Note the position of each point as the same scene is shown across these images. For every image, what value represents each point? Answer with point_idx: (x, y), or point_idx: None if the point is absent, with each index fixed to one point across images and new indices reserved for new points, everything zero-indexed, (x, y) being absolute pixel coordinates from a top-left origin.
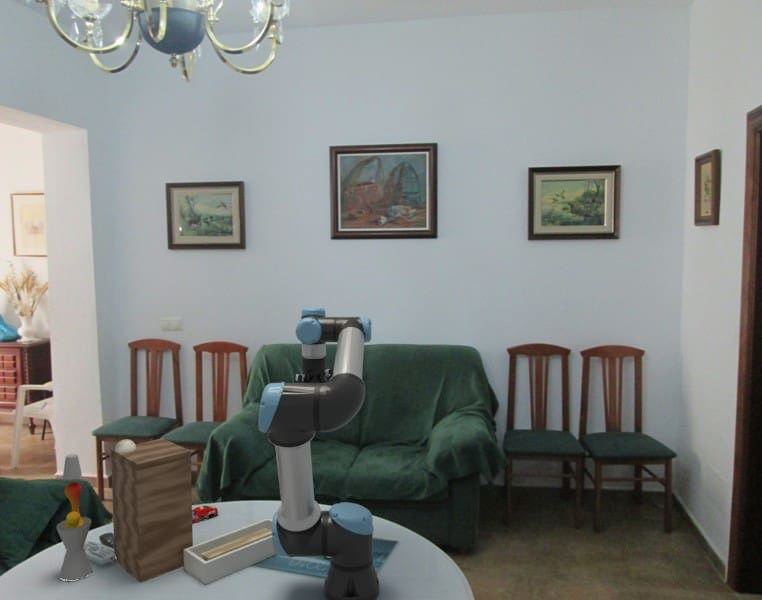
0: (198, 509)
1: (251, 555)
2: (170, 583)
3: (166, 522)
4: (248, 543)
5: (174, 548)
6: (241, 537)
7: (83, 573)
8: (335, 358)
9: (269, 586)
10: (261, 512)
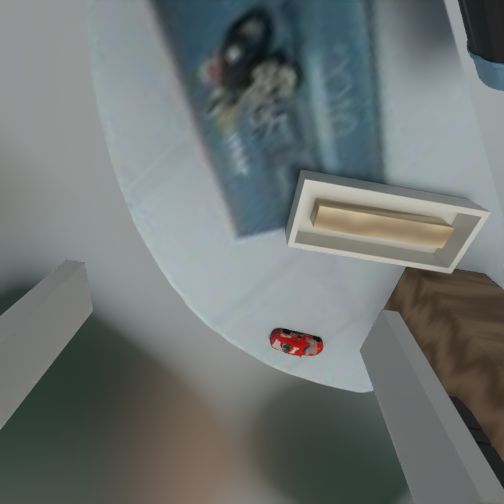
0: (300, 349)
1: (390, 189)
2: (476, 242)
3: (501, 320)
4: (374, 214)
5: (455, 284)
6: (347, 245)
7: None
8: None
9: (441, 99)
10: (228, 292)
